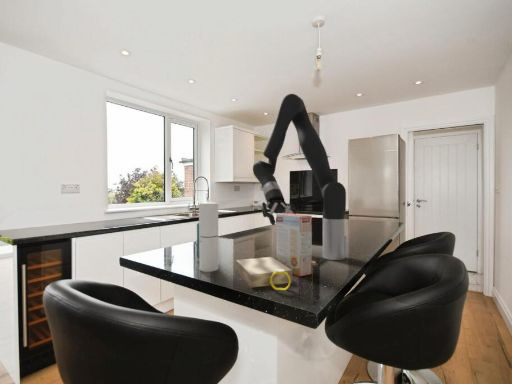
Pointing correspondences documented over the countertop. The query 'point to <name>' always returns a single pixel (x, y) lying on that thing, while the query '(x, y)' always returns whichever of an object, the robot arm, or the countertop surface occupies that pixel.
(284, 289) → the yellow ring
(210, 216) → the cylindrical container
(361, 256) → the countertop surface
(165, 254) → the countertop surface
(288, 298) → the countertop surface
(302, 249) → the cracker box
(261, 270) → the oak plinth
